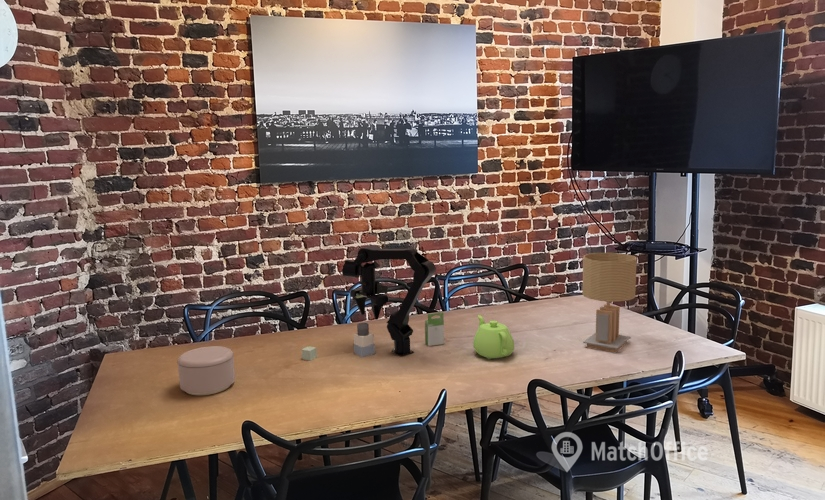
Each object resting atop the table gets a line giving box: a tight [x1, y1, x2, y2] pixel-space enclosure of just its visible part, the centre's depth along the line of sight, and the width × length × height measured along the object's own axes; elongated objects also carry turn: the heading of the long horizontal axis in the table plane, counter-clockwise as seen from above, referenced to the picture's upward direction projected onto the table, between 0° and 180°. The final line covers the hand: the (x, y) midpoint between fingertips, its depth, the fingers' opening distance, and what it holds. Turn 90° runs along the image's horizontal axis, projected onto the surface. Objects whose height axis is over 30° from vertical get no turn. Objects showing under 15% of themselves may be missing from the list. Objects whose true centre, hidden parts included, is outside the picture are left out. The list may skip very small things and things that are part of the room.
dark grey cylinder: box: [356, 322, 370, 336], centre depth 230 cm, size 4×4×4 cm
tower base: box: [353, 343, 376, 358], centre depth 231 cm, size 6×6×4 cm
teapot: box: [472, 314, 515, 360], centre depth 227 cm, size 22×15×13 cm
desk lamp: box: [581, 252, 638, 353], centre depth 231 cm, size 20×20×35 cm
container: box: [177, 345, 236, 396], centre depth 202 cm, size 18×18×12 cm
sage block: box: [301, 345, 318, 361], centre depth 227 cm, size 4×4×4 cm
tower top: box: [353, 332, 375, 347], centre depth 231 cm, size 5×5×4 cm
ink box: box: [424, 311, 445, 347], centre depth 239 cm, size 7×4×13 cm, turn 106°
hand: (369, 316), depth 235 cm, fingers open, 9 cm apart
